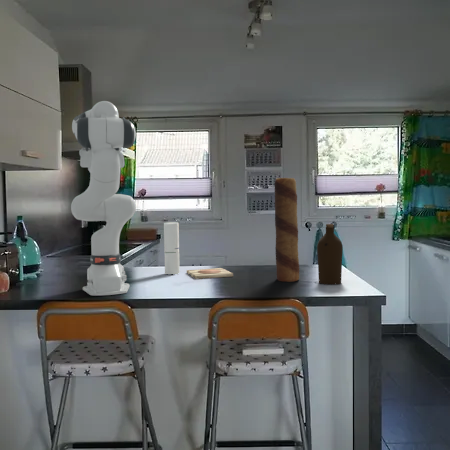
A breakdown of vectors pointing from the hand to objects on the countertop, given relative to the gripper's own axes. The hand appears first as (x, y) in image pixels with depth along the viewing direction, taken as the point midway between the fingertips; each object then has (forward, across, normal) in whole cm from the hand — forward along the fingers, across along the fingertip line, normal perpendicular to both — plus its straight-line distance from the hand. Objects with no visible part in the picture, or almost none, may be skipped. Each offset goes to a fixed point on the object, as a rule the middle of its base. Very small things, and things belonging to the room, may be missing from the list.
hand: (103, 177), depth 221 cm
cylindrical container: (+48, +31, -6) cm, 57 cm away
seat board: (+47, +46, -17) cm, 68 cm away
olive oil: (+48, +85, -60) cm, 115 cm away
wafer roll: (+48, +72, -46) cm, 98 cm away
